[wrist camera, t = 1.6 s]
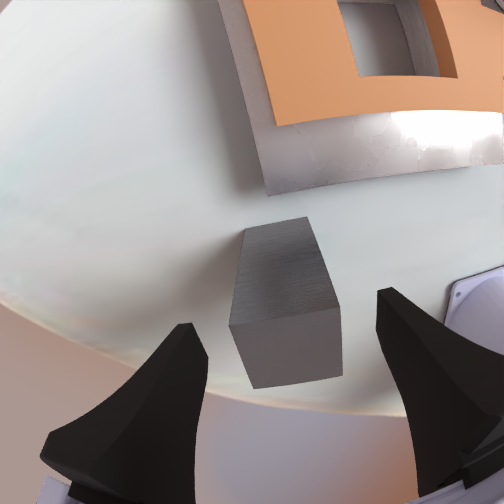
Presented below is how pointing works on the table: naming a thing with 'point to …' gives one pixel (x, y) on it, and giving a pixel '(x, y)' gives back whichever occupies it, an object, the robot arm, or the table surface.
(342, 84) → the bracket
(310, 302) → the grey metal square peg
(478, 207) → the table surface
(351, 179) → the peg hole board
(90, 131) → the table surface
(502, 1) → the supplement bottle
